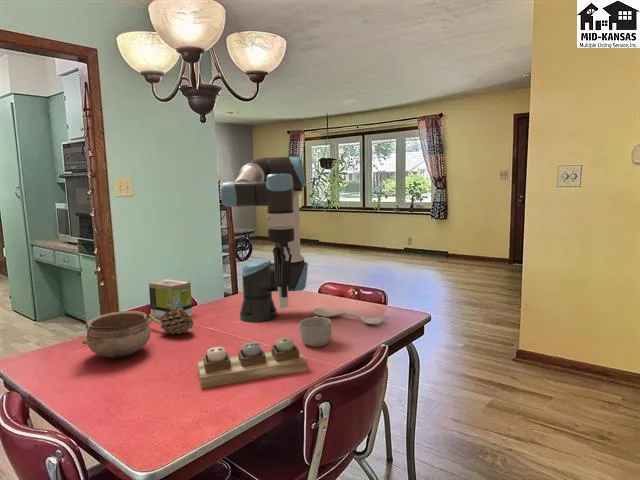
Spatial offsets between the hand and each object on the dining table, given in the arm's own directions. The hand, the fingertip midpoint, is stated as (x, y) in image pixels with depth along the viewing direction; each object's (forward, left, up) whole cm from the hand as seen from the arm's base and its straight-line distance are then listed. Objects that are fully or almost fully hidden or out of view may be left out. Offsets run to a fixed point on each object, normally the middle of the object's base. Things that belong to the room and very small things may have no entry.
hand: (283, 307), depth 129 cm
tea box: (-67, -32, -18) cm, 77 cm away
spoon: (-34, +35, -19) cm, 52 cm away
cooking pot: (-28, -48, -18) cm, 59 cm away
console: (0, -10, -18) cm, 21 cm away
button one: (0, 0, -13) cm, 13 cm away
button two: (0, -20, -13) cm, 24 cm away
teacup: (-15, +15, -18) cm, 28 cm away
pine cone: (-45, -33, -18) cm, 59 cm away
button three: (0, -10, -13) cm, 17 cm away
